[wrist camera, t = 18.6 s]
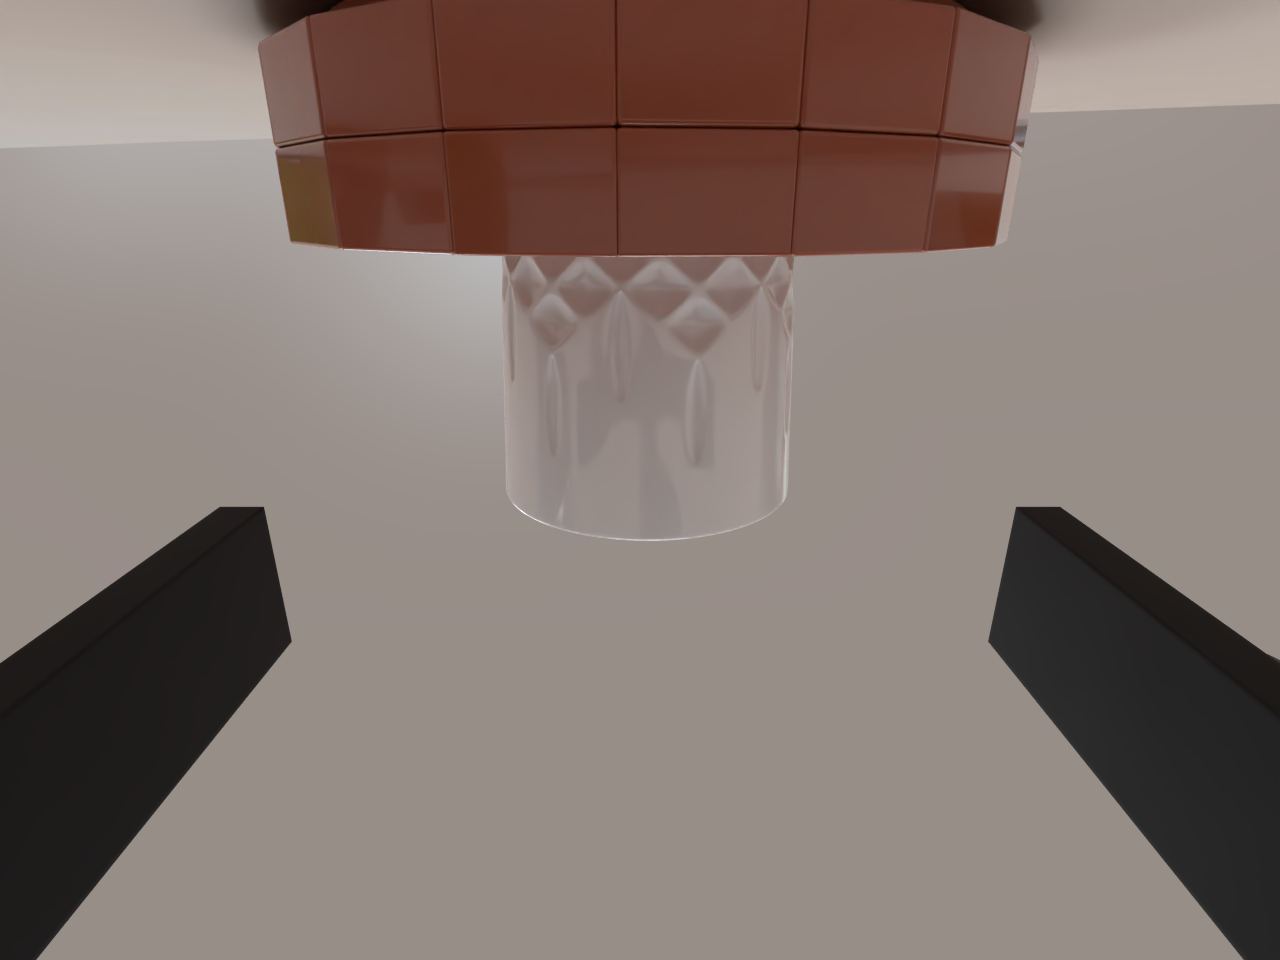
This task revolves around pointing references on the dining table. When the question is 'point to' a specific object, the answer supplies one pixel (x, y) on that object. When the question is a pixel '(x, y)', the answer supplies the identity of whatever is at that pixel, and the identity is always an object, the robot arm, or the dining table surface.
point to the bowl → (649, 127)
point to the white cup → (647, 392)
